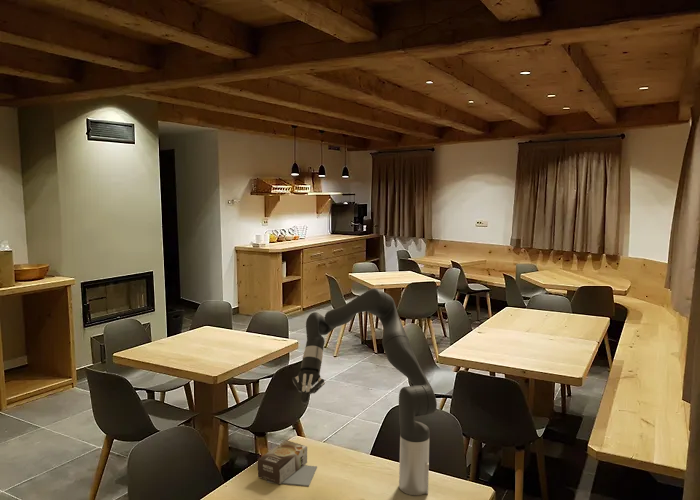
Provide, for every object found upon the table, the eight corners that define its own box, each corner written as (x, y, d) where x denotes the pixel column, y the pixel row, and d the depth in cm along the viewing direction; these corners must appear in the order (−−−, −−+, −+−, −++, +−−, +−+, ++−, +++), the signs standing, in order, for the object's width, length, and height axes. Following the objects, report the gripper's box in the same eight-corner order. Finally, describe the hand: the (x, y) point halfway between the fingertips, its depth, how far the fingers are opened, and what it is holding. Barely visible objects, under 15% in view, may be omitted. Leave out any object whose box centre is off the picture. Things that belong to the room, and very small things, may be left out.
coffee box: (307, 445, 180) (280, 466, 166) (307, 463, 180) (280, 485, 166) (285, 439, 184) (257, 459, 170) (285, 456, 185) (257, 477, 171)
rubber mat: (317, 467, 178) (316, 466, 178) (308, 486, 167) (308, 485, 167) (277, 463, 180) (277, 462, 180) (266, 482, 169) (266, 481, 169)
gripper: (330, 365, 204) (323, 408, 193) (297, 363, 206) (288, 405, 195) (327, 356, 198) (320, 400, 188) (293, 354, 200) (284, 397, 190)
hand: (304, 403), depth 191 cm, fingers closed
